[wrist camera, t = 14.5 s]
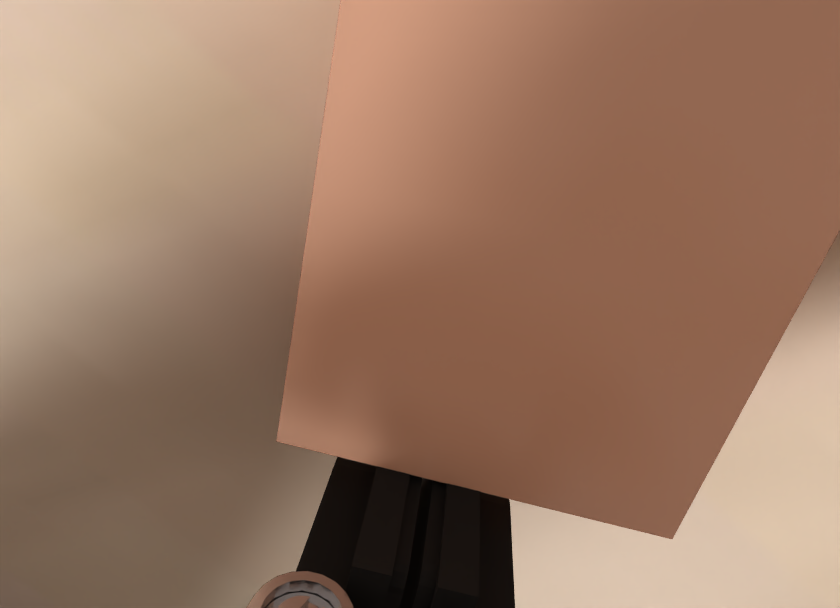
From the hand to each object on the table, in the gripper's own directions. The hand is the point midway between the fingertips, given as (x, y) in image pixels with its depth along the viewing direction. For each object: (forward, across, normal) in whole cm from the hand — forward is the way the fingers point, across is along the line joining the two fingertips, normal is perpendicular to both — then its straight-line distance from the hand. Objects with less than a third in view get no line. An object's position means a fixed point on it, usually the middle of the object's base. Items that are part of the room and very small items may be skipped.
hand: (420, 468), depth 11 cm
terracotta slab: (+2, -1, -9) cm, 9 cm away
